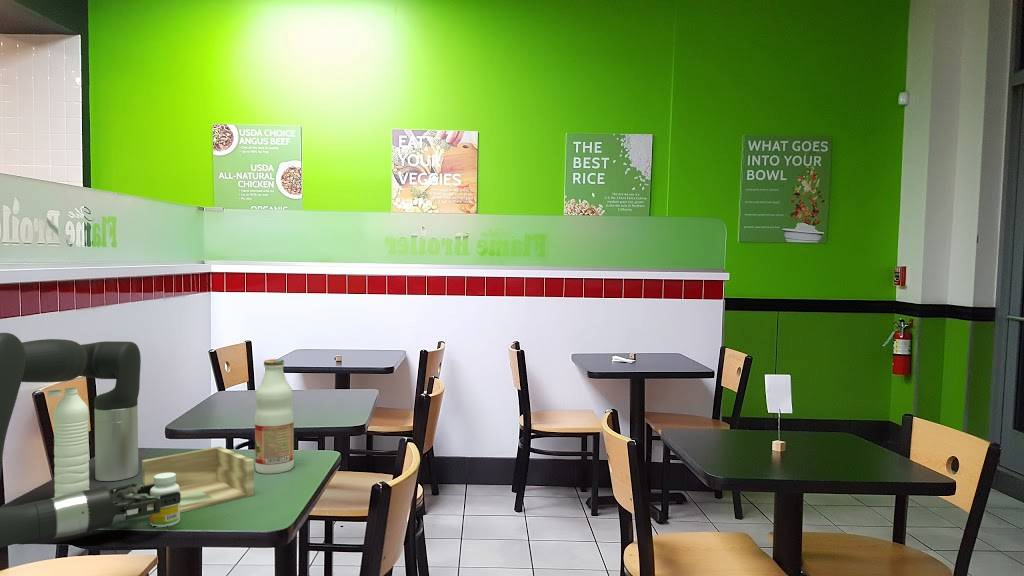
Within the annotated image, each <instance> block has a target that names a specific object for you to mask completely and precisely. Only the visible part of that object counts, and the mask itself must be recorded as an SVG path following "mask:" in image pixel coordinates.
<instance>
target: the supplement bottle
mask: <svg viewBox="0 0 1024 576" xmlns="http://www.w3.org/2000/svg"><path fill="white" fill-rule="evenodd" d="M175 481H176V474H175V473H161V474H157V475H155V476H154V484H155V486H153V487H152V488H151V490H150V496H157V495H158V496H159V495H163V494H168V493H172V492H179V493H180V487H179V485H178V484H176V483H175ZM149 506H154V504H149ZM180 521H181V513H180V503H178V504H173V505H169V506H165V507H161V512H159V513H155V514H150V515H149V522H150V526H151V525H152V526H151V527H153V526H158V527H157V528H167V526H168V527H172V526H175V525H177V524H178V523H180Z"/></svg>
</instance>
